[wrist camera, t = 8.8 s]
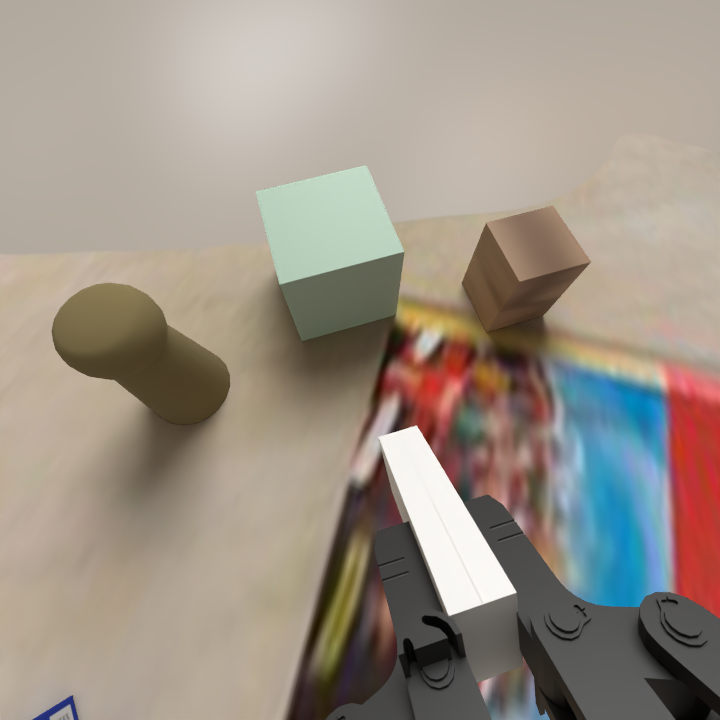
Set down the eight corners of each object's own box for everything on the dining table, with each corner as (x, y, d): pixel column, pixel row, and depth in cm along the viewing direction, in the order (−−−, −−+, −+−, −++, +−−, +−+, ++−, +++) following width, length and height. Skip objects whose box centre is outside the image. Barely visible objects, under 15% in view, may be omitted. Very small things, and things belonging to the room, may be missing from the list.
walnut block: (515, 268, 32) (552, 205, 25) (542, 316, 30) (591, 261, 23) (461, 282, 31) (486, 222, 25) (486, 332, 29) (519, 281, 23)
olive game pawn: (192, 336, 30) (101, 246, 20) (246, 378, 28) (177, 302, 18) (134, 394, 28) (0, 326, 18) (189, 441, 26) (76, 397, 16)
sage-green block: (367, 242, 33) (366, 165, 26) (395, 315, 30) (404, 251, 23) (281, 264, 32) (255, 191, 25) (302, 341, 29) (279, 284, 22)
